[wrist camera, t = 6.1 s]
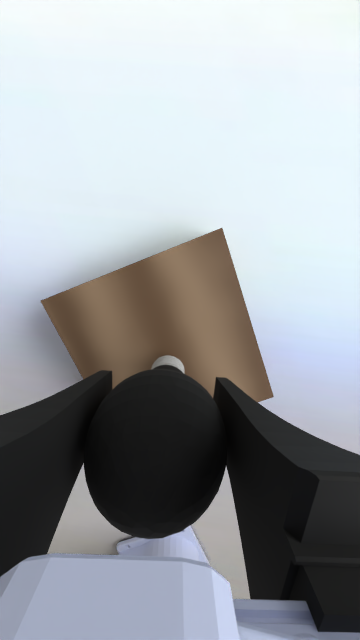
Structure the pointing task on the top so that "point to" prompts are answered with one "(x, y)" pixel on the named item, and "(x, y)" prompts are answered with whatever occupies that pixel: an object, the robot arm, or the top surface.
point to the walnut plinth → (165, 318)
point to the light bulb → (155, 452)
